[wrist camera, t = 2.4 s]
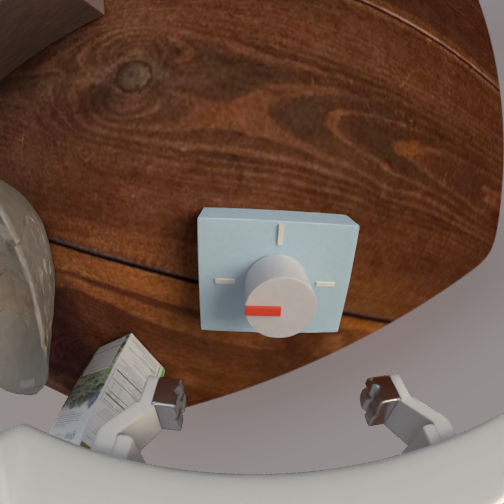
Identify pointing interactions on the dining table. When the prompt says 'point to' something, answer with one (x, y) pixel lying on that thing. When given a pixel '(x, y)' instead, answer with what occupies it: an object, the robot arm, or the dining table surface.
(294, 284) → the dial
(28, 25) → the tissue box cover
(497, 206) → the dining table surface
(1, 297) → the ceramic bowl
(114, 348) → the syrup box
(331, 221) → the panel
